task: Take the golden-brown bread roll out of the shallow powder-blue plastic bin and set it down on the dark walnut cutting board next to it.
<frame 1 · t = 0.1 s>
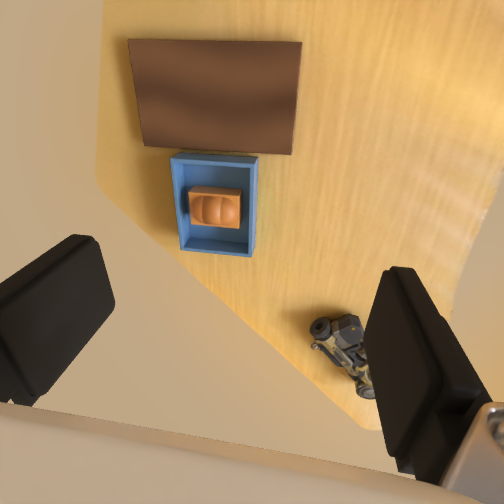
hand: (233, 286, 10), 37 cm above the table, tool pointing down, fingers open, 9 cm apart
bread: (219, 203, 48), resting on bin
board: (216, 99, 41), on the table
bin: (219, 201, 48), on the table
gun: (366, 350, 61), on the table
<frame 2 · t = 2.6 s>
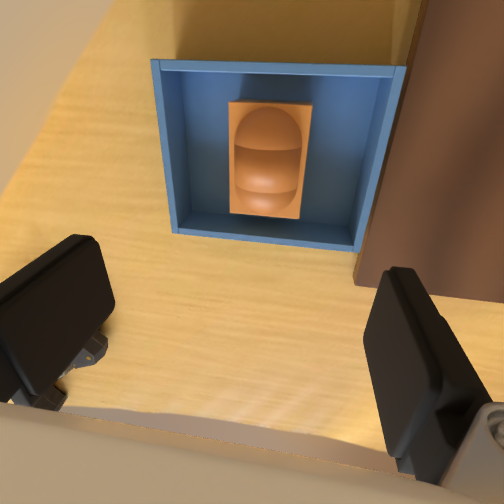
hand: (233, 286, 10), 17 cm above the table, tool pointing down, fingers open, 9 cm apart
bread: (271, 155, 23), resting on bin
board: (472, 166, 22), on the table
bin: (272, 153, 24), on the table
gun: (56, 349, 43), on the table
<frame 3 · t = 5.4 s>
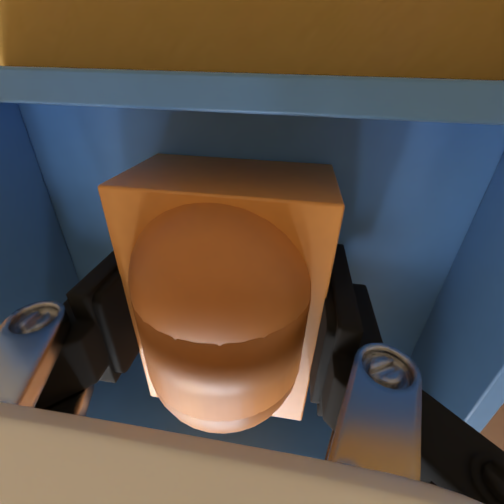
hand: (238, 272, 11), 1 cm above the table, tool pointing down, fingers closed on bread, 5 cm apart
bread: (241, 265, 11), resting on bin, touching gripper
bin: (243, 258, 11), on the table
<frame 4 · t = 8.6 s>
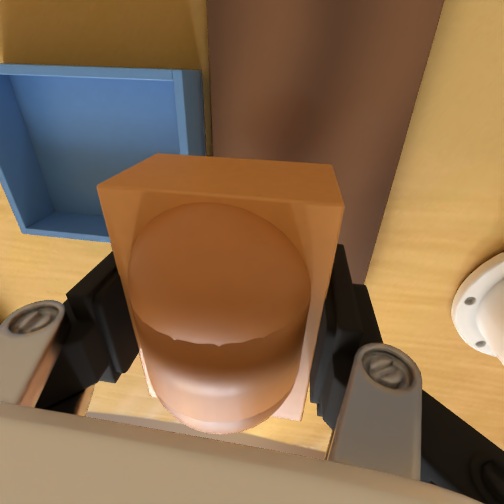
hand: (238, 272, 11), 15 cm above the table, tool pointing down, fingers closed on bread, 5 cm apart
bread: (240, 265, 11), point 14 cm above the table, touching gripper
board: (300, 166, 23), on the table
bin: (116, 154, 24), on the table
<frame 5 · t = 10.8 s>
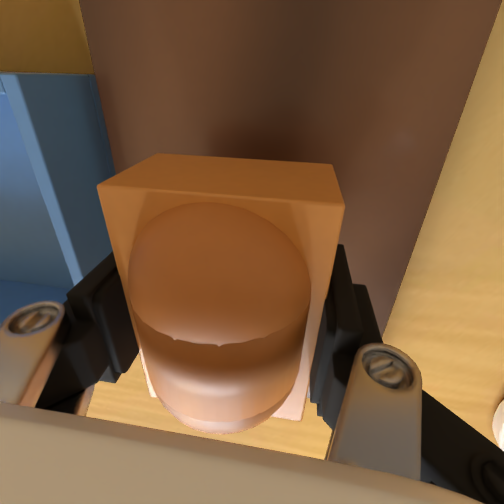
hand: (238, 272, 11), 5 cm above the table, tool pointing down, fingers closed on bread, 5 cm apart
bread: (240, 265, 11), point 4 cm above the table, touching gripper
board: (264, 223, 14), on the table
when the fingers open (2 cm above the table, at t = 12.0 s): bread stays where it is, resting on board.
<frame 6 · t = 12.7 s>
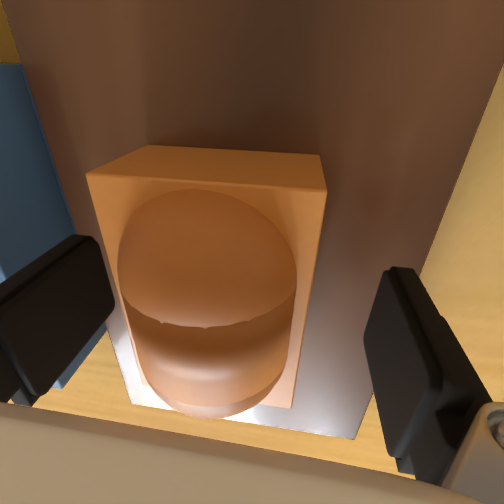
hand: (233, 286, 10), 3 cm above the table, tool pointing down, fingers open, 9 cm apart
bread: (232, 256, 11), point 1 cm above the table, touching board
board: (244, 241, 12), on the table
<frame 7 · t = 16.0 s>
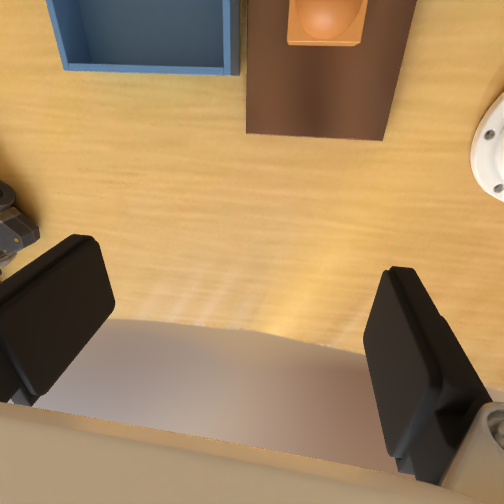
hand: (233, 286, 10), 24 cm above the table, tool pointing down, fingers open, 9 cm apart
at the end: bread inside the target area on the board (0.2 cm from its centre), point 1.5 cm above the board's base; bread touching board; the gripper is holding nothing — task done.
